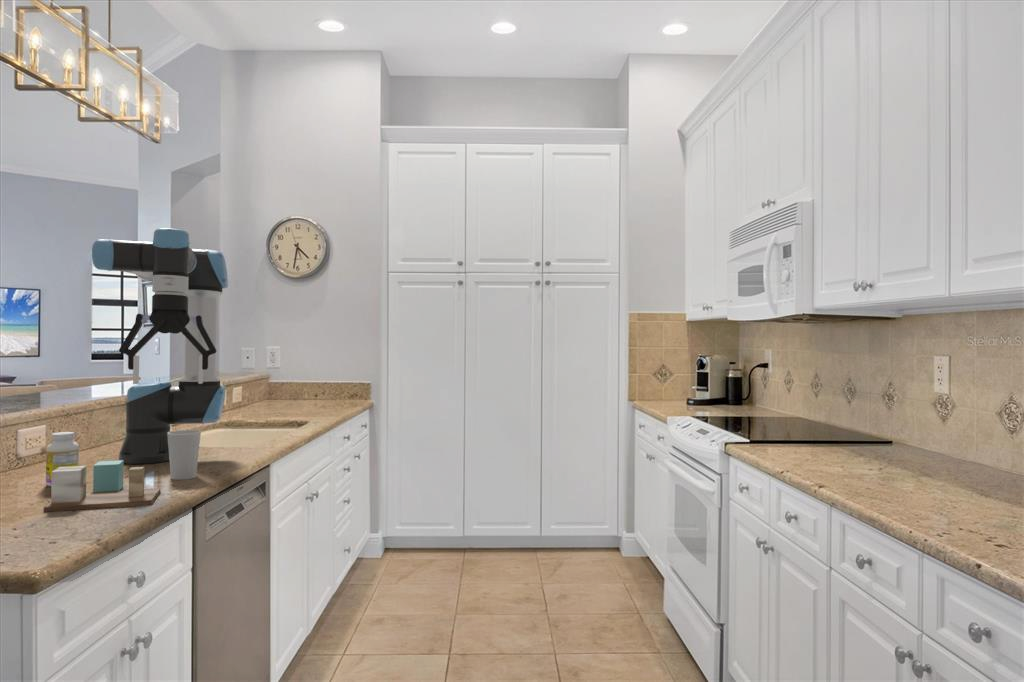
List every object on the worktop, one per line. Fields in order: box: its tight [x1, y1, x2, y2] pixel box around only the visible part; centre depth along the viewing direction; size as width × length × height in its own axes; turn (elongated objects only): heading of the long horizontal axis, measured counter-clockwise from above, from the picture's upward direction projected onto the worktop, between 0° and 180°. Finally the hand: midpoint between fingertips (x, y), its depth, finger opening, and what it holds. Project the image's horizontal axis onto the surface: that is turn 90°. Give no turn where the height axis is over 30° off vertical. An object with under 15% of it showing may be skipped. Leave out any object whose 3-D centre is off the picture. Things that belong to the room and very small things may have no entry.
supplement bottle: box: [45, 431, 80, 487], centre depth 157 cm, size 7×7×13 cm
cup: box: [167, 429, 202, 481], centre depth 168 cm, size 8×8×12 cm
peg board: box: [43, 465, 161, 513], centre depth 142 cm, size 12×20×8 cm, turn 111°
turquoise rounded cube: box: [92, 460, 125, 492], centre depth 152 cm, size 5×5×7 cm
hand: (168, 383), depth 150 cm, fingers open, 13 cm apart
